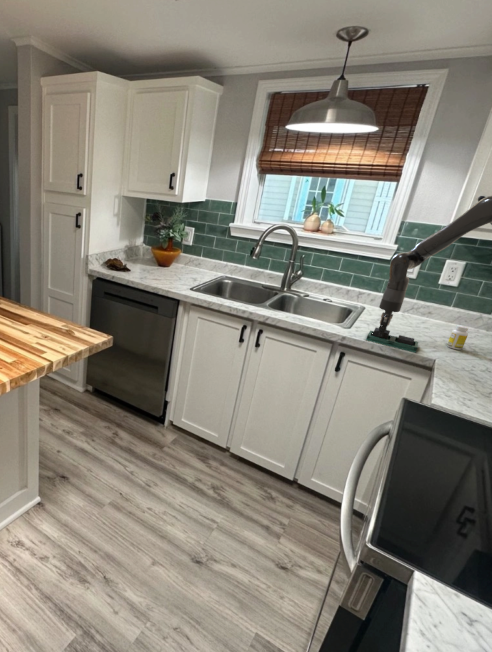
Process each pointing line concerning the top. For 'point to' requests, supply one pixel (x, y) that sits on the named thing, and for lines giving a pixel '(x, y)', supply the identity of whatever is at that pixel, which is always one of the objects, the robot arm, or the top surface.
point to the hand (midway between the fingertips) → (380, 335)
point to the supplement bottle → (458, 337)
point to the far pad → (384, 333)
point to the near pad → (405, 340)
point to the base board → (392, 342)
